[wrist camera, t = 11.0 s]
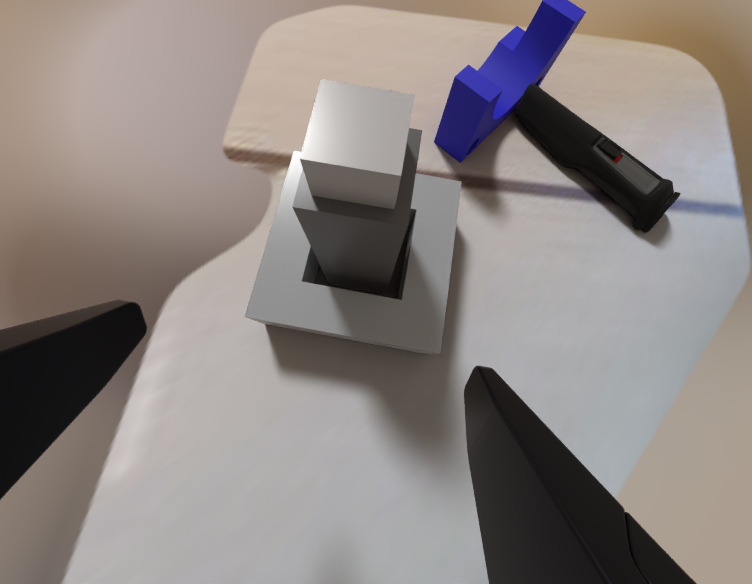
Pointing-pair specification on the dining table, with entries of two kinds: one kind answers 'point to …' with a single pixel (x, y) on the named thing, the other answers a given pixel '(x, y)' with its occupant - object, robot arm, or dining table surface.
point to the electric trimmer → (596, 158)
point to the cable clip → (504, 78)
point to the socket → (355, 309)
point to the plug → (357, 182)
